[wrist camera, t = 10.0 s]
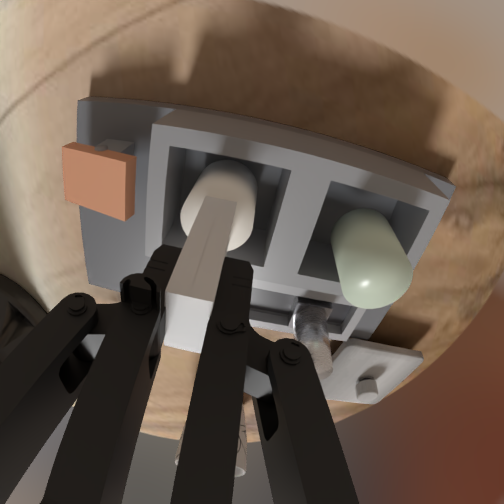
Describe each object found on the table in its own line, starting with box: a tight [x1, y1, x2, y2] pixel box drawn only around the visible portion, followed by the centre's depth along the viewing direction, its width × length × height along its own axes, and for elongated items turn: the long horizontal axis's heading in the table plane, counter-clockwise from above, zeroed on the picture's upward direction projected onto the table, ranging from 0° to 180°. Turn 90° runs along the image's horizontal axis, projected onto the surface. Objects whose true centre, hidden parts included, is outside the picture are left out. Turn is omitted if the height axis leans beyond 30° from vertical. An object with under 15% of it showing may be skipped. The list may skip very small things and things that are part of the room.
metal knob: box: [287, 296, 333, 380], centre depth 23 cm, size 3×3×6 cm
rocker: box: [62, 142, 137, 221], centre depth 17 cm, size 5×4×1 cm
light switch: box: [320, 338, 424, 404], centre depth 30 cm, size 10×10×5 cm
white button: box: [180, 160, 258, 251], centre depth 17 cm, size 4×4×4 cm
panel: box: [77, 97, 456, 341], centre depth 21 cm, size 26×16×6 cm, turn 78°
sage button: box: [331, 208, 413, 309], centre depth 16 cm, size 4×4×4 cm
